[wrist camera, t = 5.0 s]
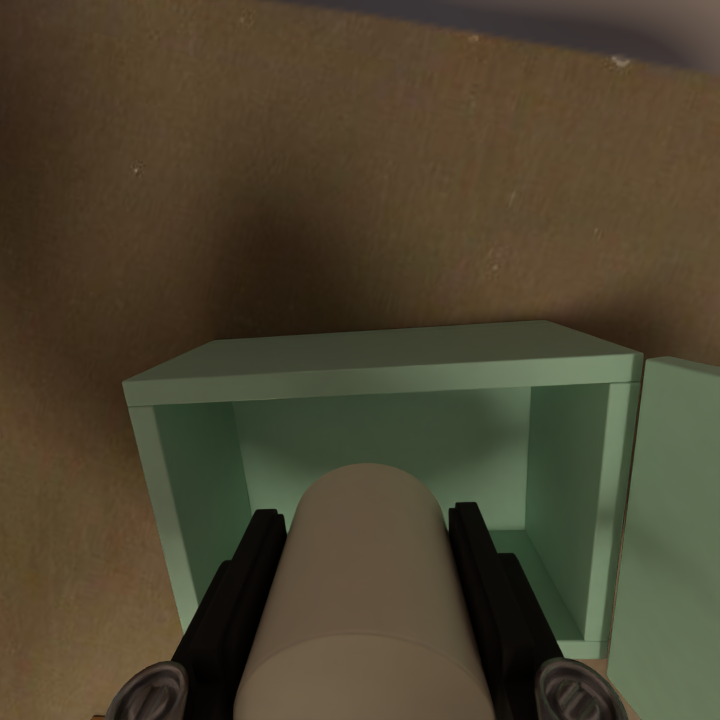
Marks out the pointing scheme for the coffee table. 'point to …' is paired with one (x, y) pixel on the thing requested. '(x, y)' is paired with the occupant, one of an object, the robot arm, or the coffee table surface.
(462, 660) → the cylinder
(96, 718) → the mat
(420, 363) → the green open box
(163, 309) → the coffee table surface
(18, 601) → the coffee table surface
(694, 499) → the green box lid
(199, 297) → the coffee table surface
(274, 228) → the coffee table surface
